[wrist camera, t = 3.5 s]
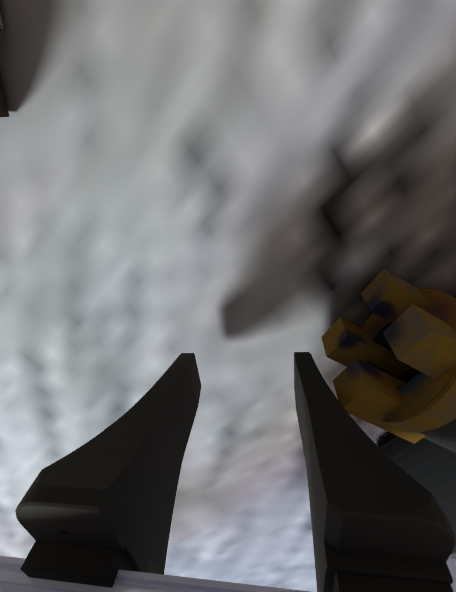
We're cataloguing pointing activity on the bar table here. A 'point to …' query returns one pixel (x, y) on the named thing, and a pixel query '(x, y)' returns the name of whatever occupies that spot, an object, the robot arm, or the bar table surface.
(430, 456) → the pipe connector
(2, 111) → the book
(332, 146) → the bar table surface
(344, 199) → the bar table surface
